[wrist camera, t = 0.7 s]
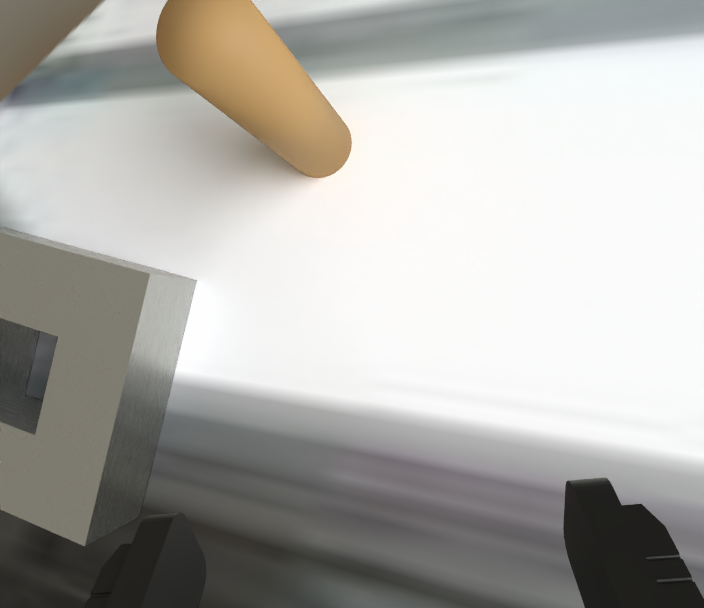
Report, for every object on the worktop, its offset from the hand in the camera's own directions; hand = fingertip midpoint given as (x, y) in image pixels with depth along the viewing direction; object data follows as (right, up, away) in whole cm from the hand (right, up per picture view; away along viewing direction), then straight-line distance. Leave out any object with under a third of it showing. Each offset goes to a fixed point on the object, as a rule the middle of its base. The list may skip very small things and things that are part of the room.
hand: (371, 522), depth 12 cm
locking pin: (-2, +14, +22) cm, 27 cm away
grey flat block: (-20, 0, +26) cm, 33 cm away
